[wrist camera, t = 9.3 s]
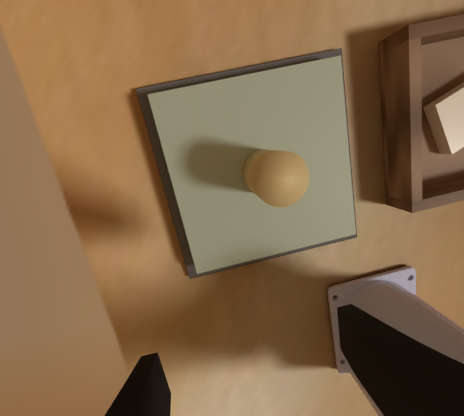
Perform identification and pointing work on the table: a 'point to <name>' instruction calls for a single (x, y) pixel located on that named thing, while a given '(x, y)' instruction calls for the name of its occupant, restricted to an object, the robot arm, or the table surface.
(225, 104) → the lid
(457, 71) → the walnut box
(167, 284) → the table surface
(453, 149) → the cream block
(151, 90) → the charcoal mat
